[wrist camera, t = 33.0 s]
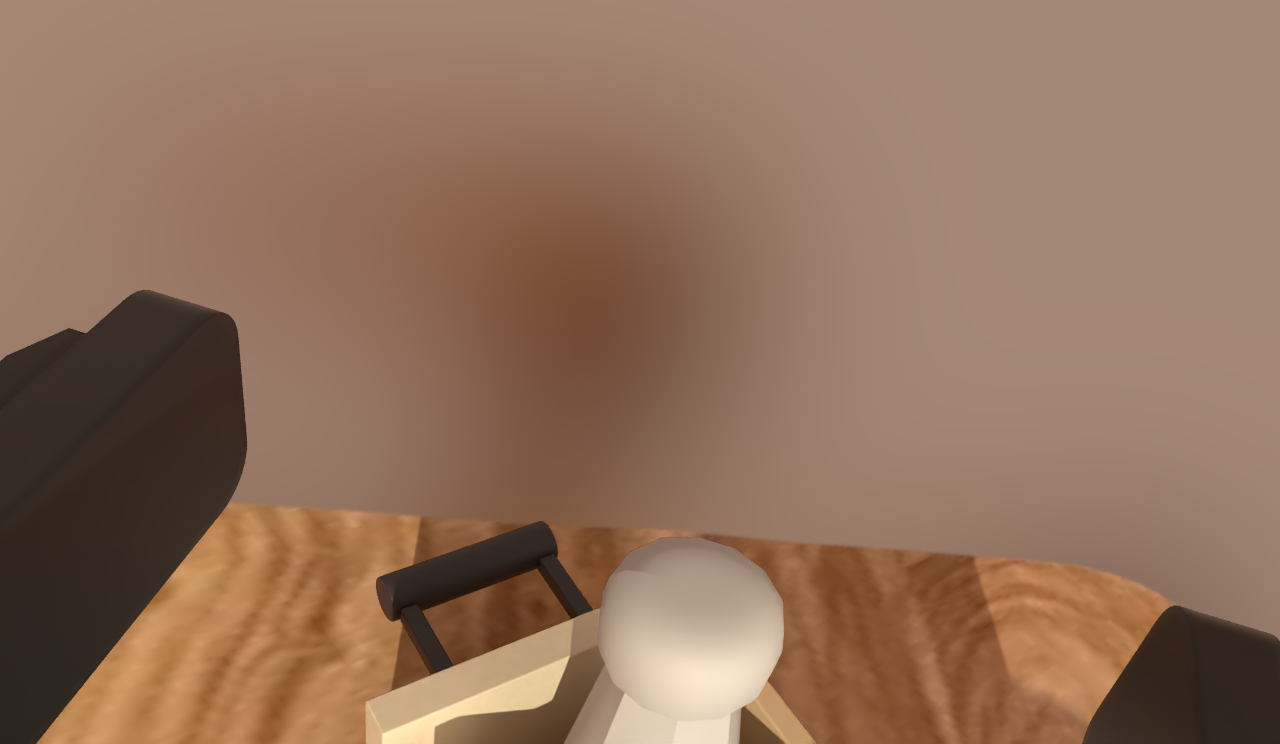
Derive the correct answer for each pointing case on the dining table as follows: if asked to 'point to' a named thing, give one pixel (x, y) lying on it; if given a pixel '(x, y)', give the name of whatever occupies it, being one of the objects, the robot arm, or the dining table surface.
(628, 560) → the salt shaker
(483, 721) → the drawer
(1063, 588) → the dining table surface
